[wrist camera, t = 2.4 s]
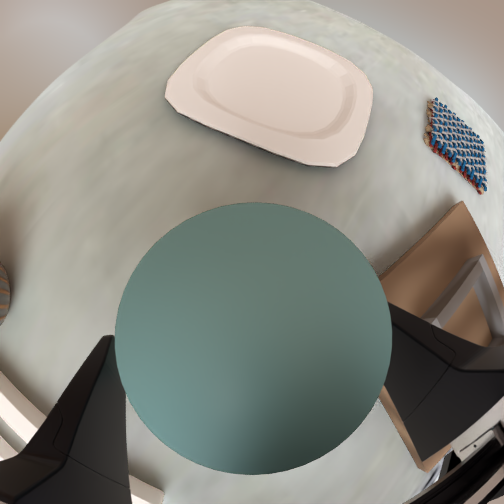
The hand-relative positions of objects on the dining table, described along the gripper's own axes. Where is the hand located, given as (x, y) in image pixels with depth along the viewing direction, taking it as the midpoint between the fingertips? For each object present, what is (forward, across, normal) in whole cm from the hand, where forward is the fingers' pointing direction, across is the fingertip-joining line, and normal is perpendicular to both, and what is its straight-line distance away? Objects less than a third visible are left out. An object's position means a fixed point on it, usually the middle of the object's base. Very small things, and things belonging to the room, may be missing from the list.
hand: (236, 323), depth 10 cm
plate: (+20, -8, -8) cm, 23 cm away
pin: (+5, 0, +6) cm, 8 cm away
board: (+1, -18, +10) cm, 21 cm away
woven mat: (+15, -30, -3) cm, 34 cm away
